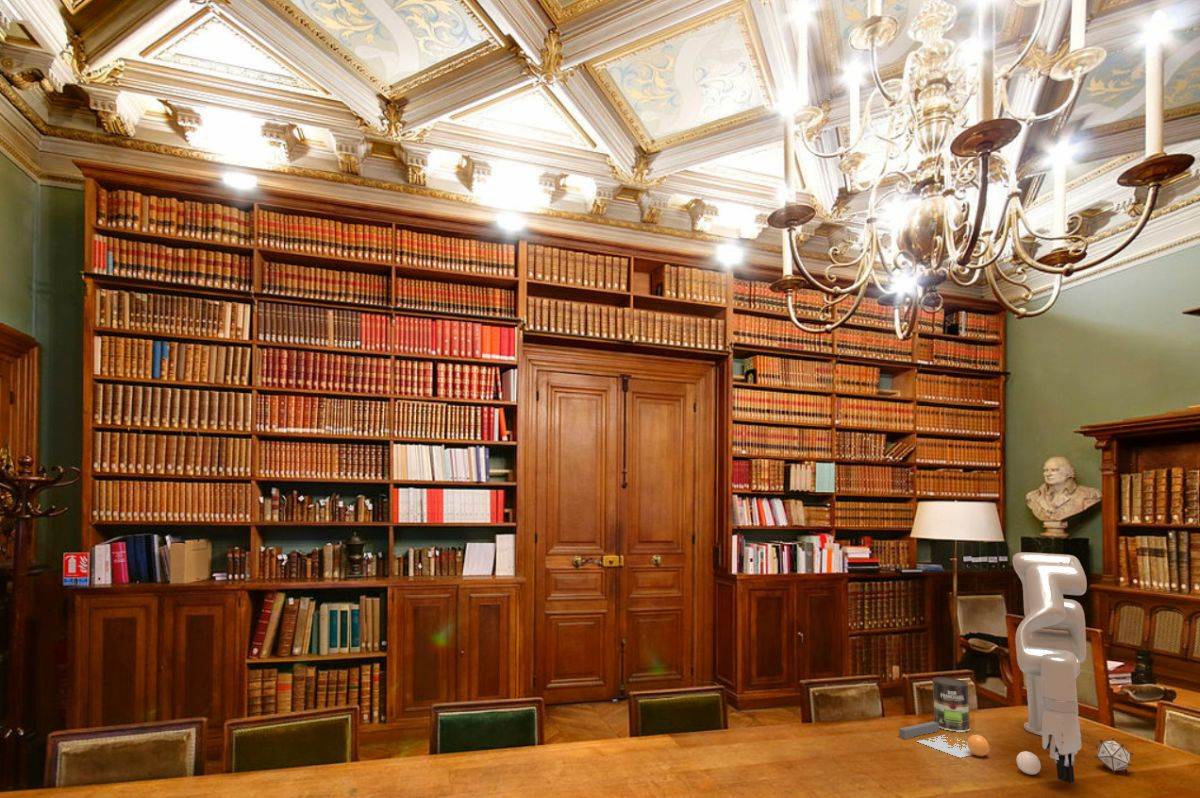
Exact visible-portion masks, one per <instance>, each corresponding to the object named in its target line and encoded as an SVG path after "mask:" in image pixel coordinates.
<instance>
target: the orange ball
mask: <svg viewBox="0 0 1200 798" xmlns="http://www.w3.org/2000/svg"><path fill="white" fill-rule="evenodd" d="M966 742H967V746H968V748H969V750H970V751H971V752H972V753H973V754H974V755H973V756H977V757H985V756H987V754H988V753H989V750H990V744H989V742H988V740H987V739H986V738H985V737H983V736H982V735H980V734H972V735H969V737H968V739H967V740H966Z"/></svg>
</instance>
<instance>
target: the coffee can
mask: <svg viewBox="0 0 1200 798" xmlns="http://www.w3.org/2000/svg"><path fill="white" fill-rule="evenodd" d="M931 680H932V681H931V682H932V688H933V689H932V691H933V714H934V722H936V723H939V729H940V728H941V729H940V730H943V729H944V730H943V731H946V730H949V731H948V732H951V731H956V732H955V733H960V732H961V733H962V732H963V733H966V732H965V731H969V730H970V731H971V727H970V726H971V725H970V707H969V683H968V682H967V681H964V680H962V679H958V678H952V677H943V676H940V677H939V676H938V677H933V678H932V679H931ZM970 731H969V732H970Z"/></svg>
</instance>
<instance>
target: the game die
mask: <svg viewBox="0 0 1200 798" xmlns="http://www.w3.org/2000/svg"><path fill="white" fill-rule="evenodd" d="M1099 742H1100V744H1099V745H1097V744H1096V745H1094V746H1095V748H1097V751H1096V752H1097V753H1096V755H1094V756H1093V758H1094V759H1098V760H1099V761H1100V762H1101V763H1102V764H1103V765H1102V767H1103V766H1105V767H1107V768H1108V769H1110V770H1111V771H1112V774H1113V773H1114V774H1113V775H1115V774H1116V772H1118V771H1123V770H1124V772H1126V773H1127V772H1128V770H1127V768H1128V767H1129V766H1131V767H1133V766H1134V765H1133V763H1131V756H1134V753H1133V752H1129V751H1128V750H1127V749H1126V748H1125V747H1124V746H1125V744H1124V743H1122V744H1120V743H1119V742H1117V741H1115V738H1114V737H1111V740H1106V741H1105V740H1104V741H1103V740H1102V738H1099Z"/></svg>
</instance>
